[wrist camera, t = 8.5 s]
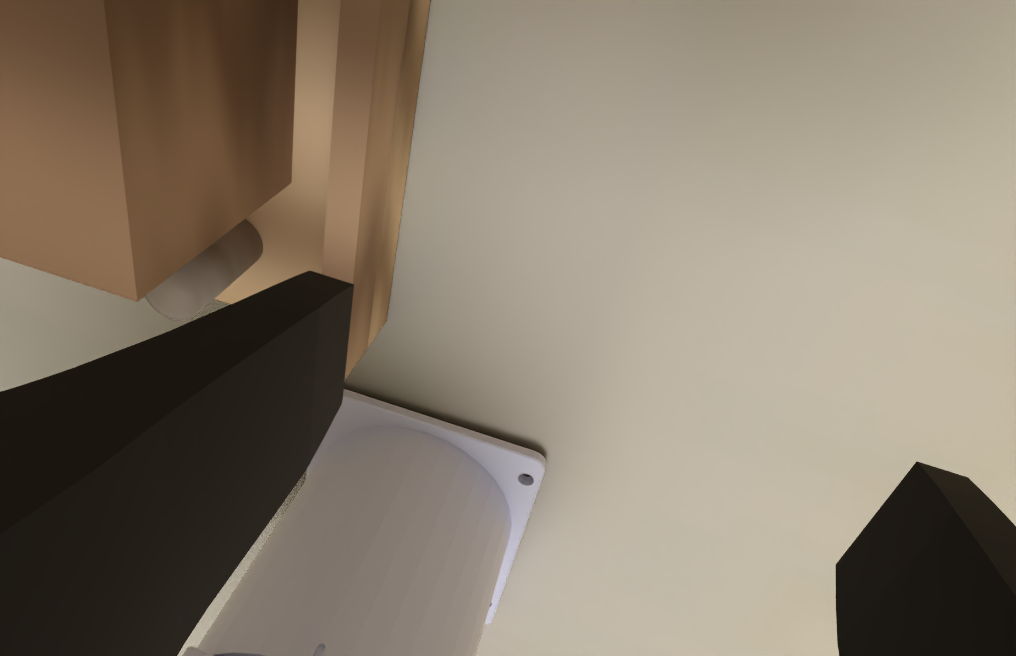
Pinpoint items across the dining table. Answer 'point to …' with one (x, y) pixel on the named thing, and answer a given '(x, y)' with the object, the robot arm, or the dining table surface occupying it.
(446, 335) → the dining table surface
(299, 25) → the wooden stand base
